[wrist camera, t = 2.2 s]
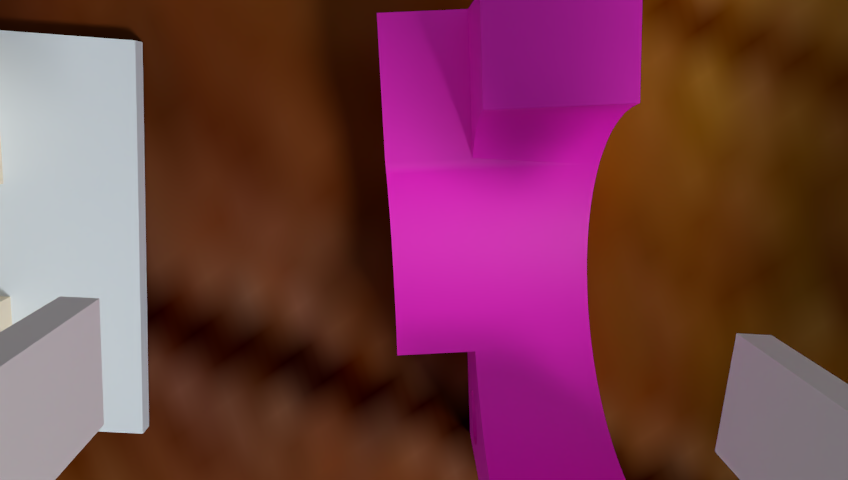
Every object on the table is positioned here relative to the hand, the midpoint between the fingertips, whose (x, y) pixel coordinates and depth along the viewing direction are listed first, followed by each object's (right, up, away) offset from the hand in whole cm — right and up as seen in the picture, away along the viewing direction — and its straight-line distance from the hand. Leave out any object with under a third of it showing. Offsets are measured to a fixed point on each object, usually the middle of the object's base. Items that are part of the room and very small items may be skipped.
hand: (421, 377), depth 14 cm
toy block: (+2, +3, +11) cm, 11 cm away
